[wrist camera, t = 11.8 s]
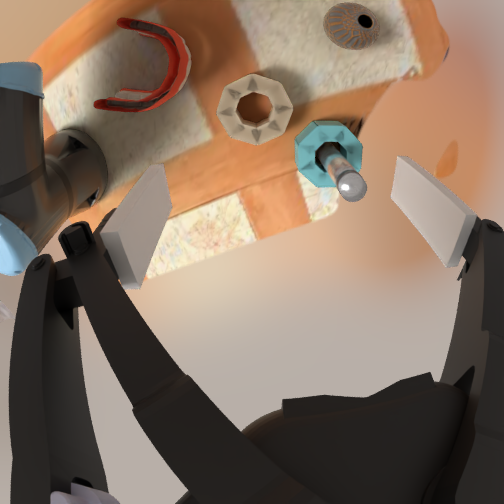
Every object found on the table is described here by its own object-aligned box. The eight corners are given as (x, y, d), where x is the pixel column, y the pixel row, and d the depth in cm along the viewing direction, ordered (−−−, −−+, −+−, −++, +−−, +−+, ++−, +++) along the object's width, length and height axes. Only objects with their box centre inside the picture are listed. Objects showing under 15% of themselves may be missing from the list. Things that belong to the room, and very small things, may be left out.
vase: (370, 49, 29) (398, 48, 22) (324, 52, 30) (343, 49, 23) (360, 7, 25) (385, -3, 18) (313, 9, 26) (329, -5, 19)
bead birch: (240, 147, 39) (239, 154, 36) (209, 94, 34) (205, 96, 31) (298, 121, 37) (302, 126, 34) (269, 65, 32) (271, 64, 29)
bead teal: (295, 178, 42) (298, 188, 39) (294, 120, 36) (297, 125, 34) (352, 177, 42) (359, 186, 39) (355, 121, 36) (363, 126, 33)
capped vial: (314, 160, 40) (339, 202, 29) (314, 140, 38) (341, 176, 27) (334, 160, 40) (365, 202, 29) (335, 140, 38) (368, 176, 27)
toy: (181, 115, 36) (165, 126, 30) (118, 99, 34) (92, 109, 27) (210, 36, 29) (200, 28, 22) (142, 22, 27) (119, 16, 20)
